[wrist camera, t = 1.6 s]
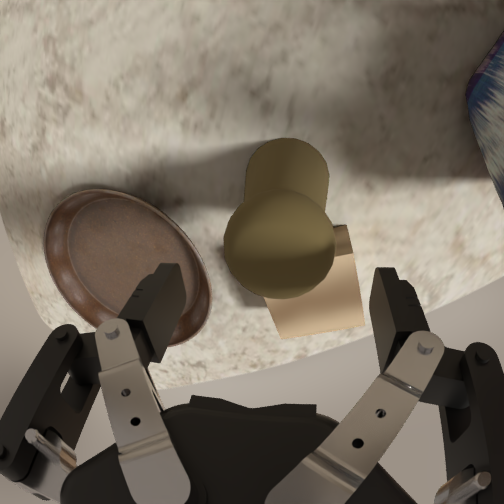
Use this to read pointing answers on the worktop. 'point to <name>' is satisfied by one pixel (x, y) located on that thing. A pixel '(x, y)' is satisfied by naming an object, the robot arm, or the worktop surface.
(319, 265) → the olive green pawn
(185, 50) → the worktop surface
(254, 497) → the robot arm
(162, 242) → the plant saucer
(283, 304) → the oak base block
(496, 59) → the handbag
